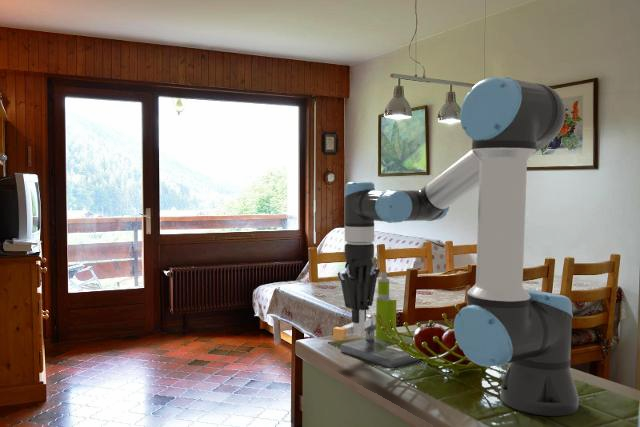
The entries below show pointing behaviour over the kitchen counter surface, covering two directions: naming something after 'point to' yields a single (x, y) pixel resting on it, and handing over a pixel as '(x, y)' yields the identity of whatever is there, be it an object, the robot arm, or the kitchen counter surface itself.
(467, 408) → the kitchen counter surface
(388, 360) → the plate
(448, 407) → the kitchen counter surface
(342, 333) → the swing arm
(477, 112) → the robot arm
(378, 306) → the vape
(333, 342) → the kitchen counter surface
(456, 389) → the kitchen counter surface
